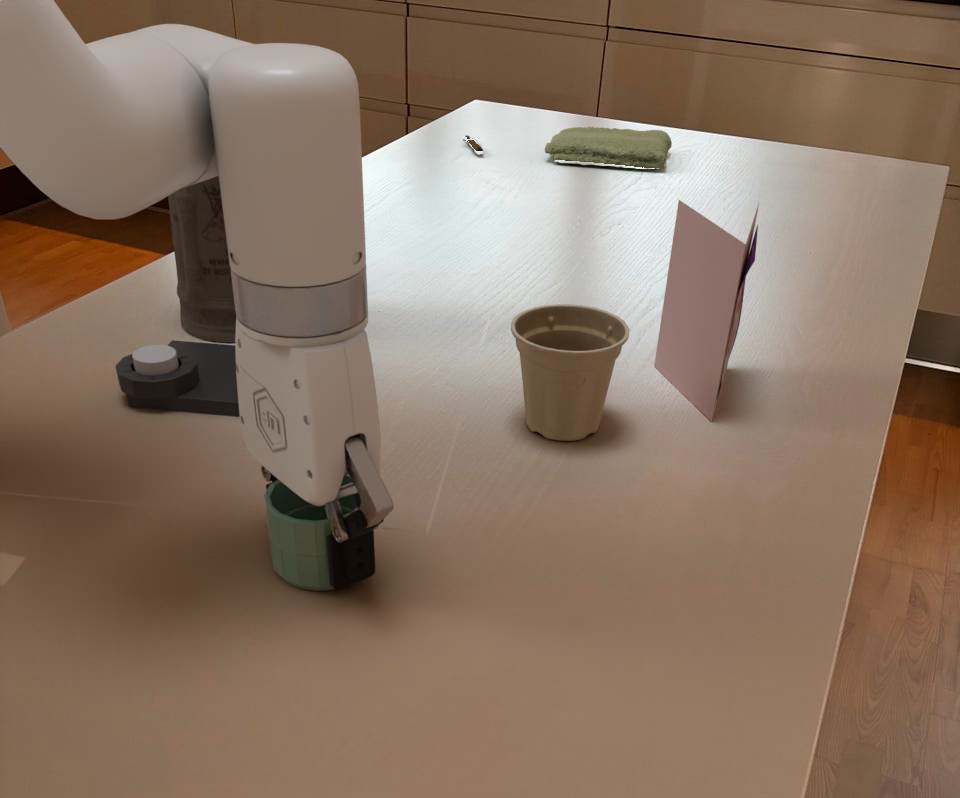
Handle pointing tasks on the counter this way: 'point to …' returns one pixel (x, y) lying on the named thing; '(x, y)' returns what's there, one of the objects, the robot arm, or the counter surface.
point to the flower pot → (567, 366)
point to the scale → (186, 381)
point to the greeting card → (702, 306)
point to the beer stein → (203, 262)
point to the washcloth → (611, 146)
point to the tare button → (155, 360)
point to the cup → (300, 536)
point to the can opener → (474, 144)
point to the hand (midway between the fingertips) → (322, 552)
